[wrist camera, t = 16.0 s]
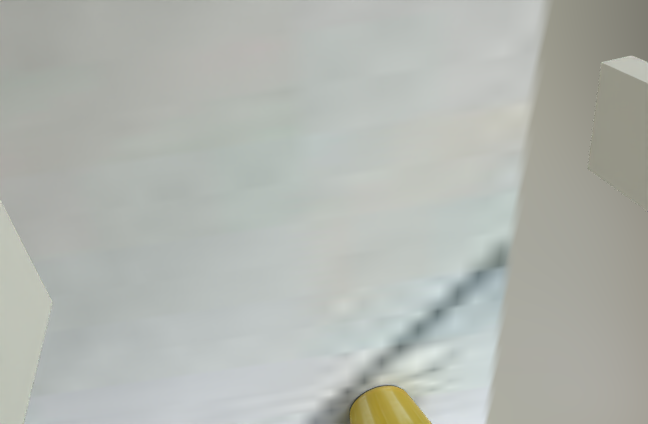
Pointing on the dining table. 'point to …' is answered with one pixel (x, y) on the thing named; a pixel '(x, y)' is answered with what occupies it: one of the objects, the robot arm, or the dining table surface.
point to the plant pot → (386, 408)
